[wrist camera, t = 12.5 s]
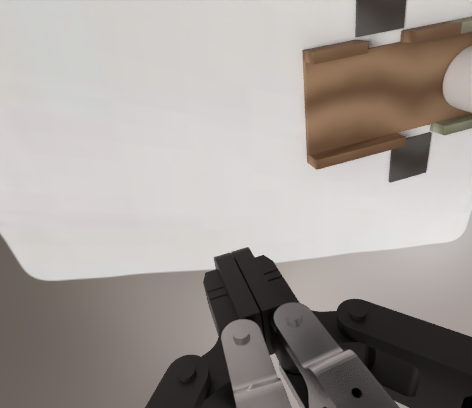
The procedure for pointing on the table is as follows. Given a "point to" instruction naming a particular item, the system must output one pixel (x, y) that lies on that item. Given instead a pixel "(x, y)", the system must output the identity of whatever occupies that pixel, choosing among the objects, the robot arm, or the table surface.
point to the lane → (382, 91)
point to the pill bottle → (459, 81)
